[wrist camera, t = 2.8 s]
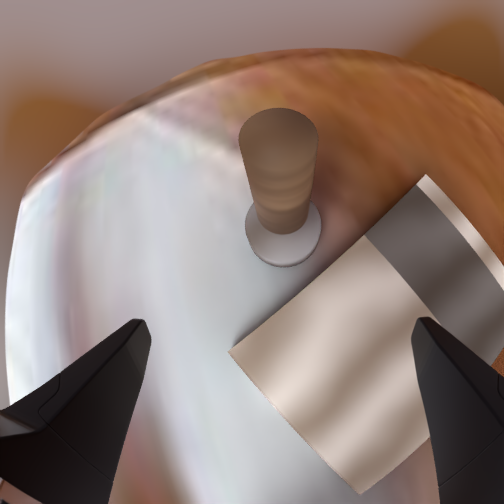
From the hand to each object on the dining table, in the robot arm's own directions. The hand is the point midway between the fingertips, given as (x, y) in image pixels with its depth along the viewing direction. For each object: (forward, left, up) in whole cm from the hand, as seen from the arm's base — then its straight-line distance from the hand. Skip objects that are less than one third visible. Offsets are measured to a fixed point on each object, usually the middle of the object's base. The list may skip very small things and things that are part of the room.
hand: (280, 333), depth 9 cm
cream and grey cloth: (-6, -7, -13) cm, 17 cm away
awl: (+6, -5, -13) cm, 16 cm away
